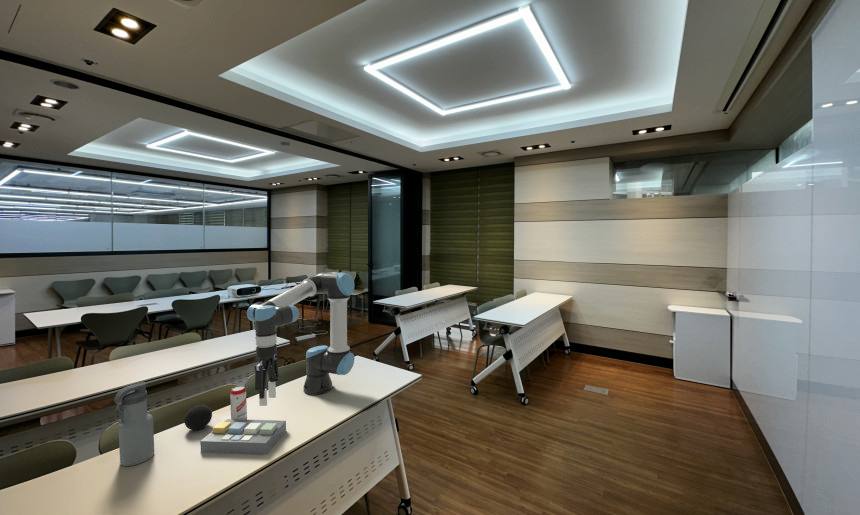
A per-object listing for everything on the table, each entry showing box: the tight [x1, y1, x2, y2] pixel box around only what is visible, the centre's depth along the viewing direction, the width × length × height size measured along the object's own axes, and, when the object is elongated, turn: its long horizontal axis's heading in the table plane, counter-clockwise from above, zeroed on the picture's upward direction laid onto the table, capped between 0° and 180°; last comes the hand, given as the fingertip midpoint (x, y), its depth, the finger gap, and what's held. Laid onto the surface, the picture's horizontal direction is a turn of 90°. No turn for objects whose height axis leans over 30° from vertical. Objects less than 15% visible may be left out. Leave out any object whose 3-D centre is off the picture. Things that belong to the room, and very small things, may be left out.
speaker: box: [183, 404, 213, 431], centre depth 147 cm, size 10×10×10 cm
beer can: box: [229, 385, 248, 420], centre depth 151 cm, size 6×6×16 cm
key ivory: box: [244, 423, 262, 435], centre depth 137 cm, size 5×5×2 cm
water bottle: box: [114, 381, 155, 467], centre depth 126 cm, size 10×10×28 cm
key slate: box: [228, 422, 246, 434], centre depth 138 cm, size 5×5×2 cm
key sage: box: [260, 423, 277, 435], centre depth 137 cm, size 5×5×2 cm
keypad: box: [199, 418, 287, 455], centre depth 138 cm, size 16×26×5 cm, turn 87°
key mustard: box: [212, 421, 231, 434], centre depth 138 cm, size 5×5×2 cm
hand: (267, 401), depth 136 cm, fingers open, 6 cm apart
